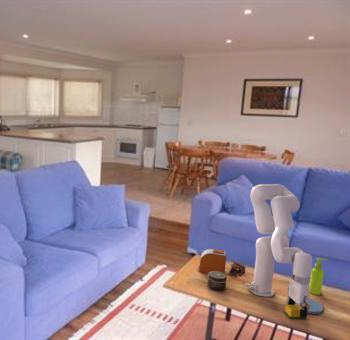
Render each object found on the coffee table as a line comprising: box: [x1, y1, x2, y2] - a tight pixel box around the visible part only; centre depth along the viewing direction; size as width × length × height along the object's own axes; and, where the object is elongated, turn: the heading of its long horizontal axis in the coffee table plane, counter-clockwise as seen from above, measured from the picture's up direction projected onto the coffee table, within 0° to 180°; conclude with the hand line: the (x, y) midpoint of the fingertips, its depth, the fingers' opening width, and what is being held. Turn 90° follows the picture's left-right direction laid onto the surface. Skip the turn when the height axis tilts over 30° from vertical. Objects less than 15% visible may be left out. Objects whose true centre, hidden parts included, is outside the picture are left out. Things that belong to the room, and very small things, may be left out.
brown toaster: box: [198, 248, 228, 275], centre depth 228 cm, size 15×8×14 cm, turn 69°
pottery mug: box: [228, 261, 246, 278], centre depth 224 cm, size 12×10×8 cm
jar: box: [207, 271, 228, 292], centre depth 208 cm, size 10×10×8 cm
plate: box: [287, 297, 324, 315], centre depth 192 cm, size 16×16×1 cm
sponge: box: [284, 304, 307, 320], centre depth 182 cm, size 8×5×4 cm, turn 92°
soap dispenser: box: [309, 257, 329, 296], centre depth 205 cm, size 6×7×20 cm
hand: (297, 311), depth 181 cm, fingers open, 9 cm apart
